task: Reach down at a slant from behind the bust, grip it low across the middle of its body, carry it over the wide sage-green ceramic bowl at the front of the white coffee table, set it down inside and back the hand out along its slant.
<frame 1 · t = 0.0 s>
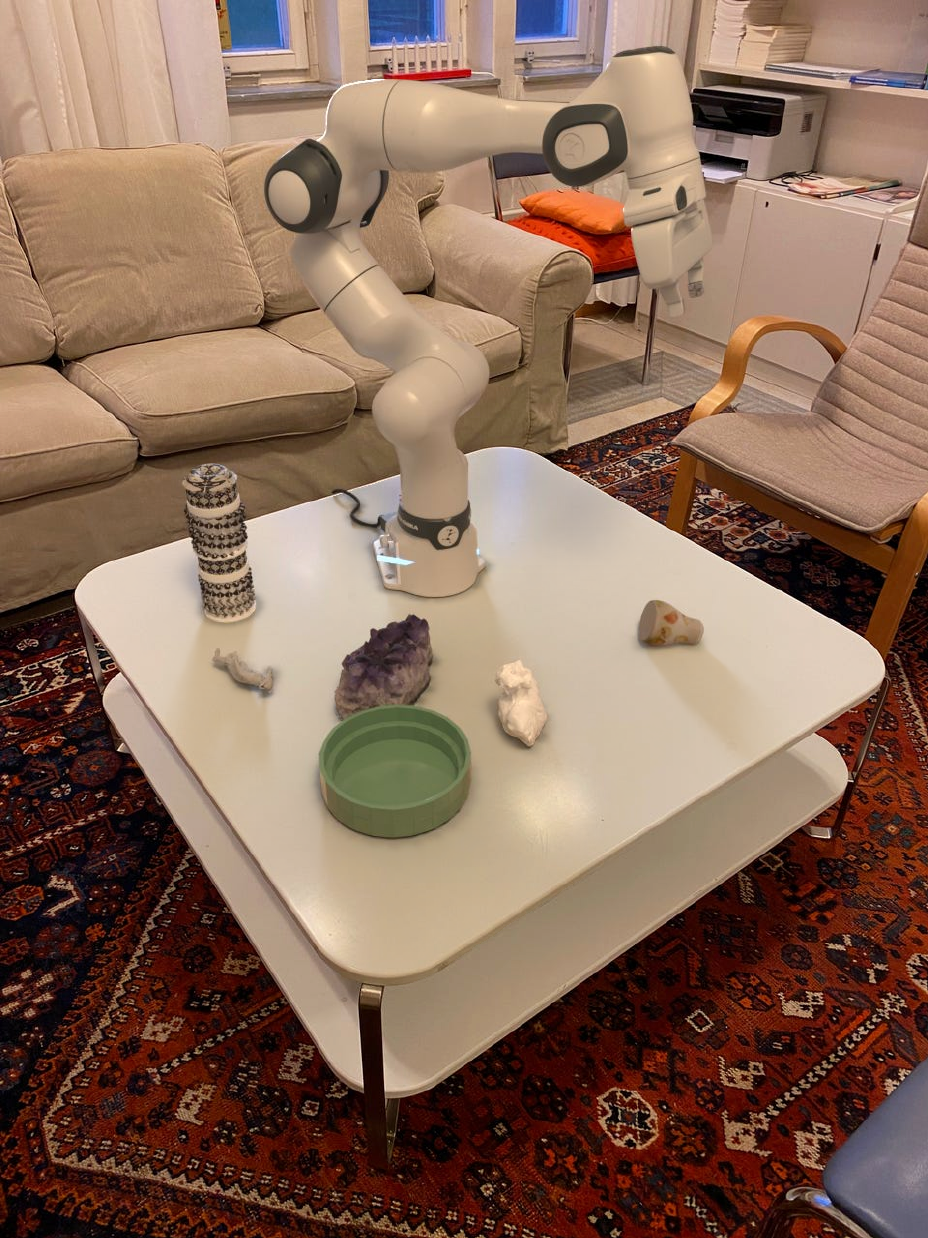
hand: (688, 305, 122), 52 cm above the table, tool tilted 20°, fingers open, 8 cm apart
bust: (519, 726, 134), on the table
geode: (389, 689, 140), on the table
decorative candle: (230, 609, 157), on the table
mug: (669, 640, 151), on the table
bowl: (396, 784, 124), on the table
grey figurine: (246, 682, 141), on the table
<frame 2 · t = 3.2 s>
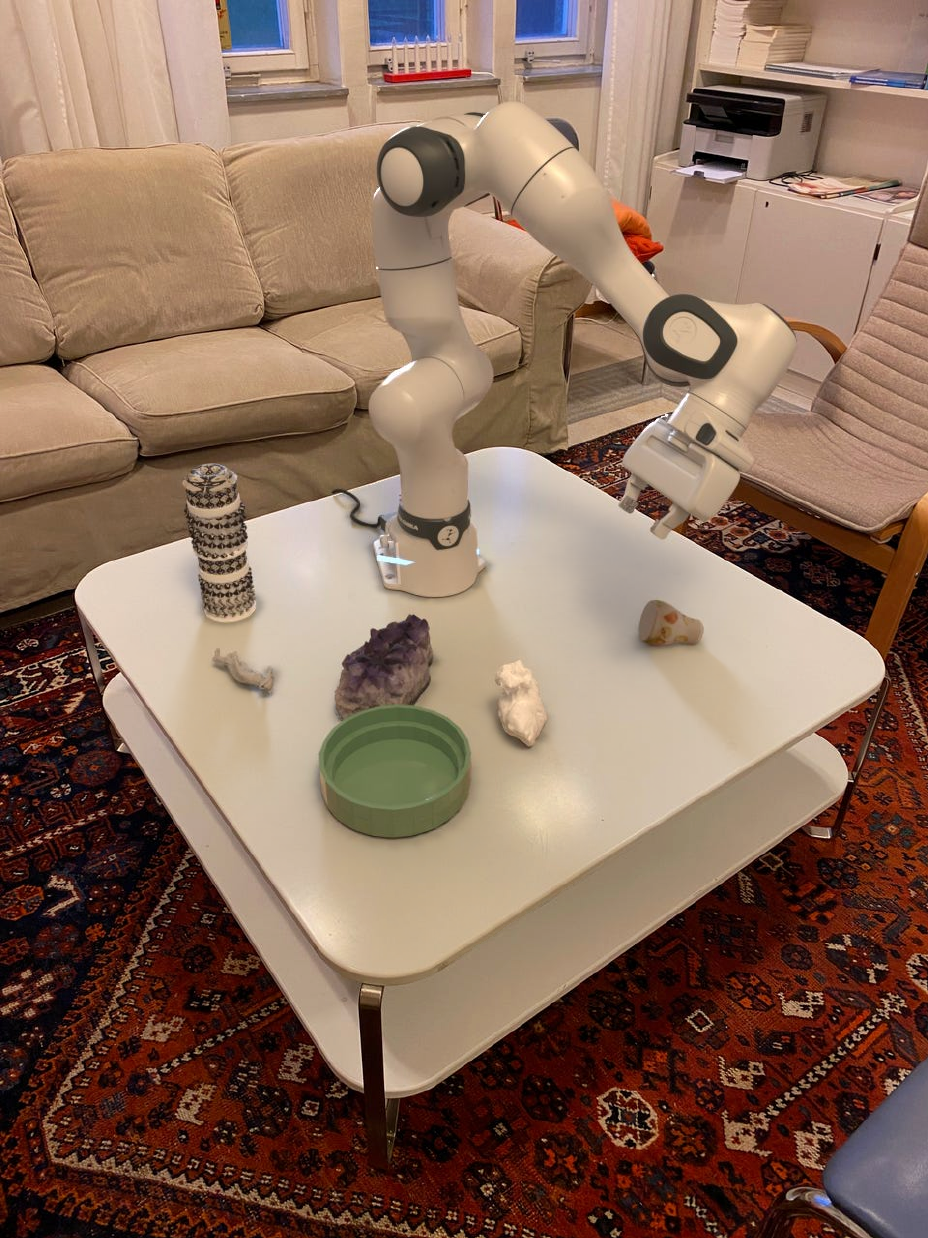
hand: (639, 522, 123), 29 cm above the table, tool tilted 35°, fingers open, 8 cm apart
nothing on the table moved.
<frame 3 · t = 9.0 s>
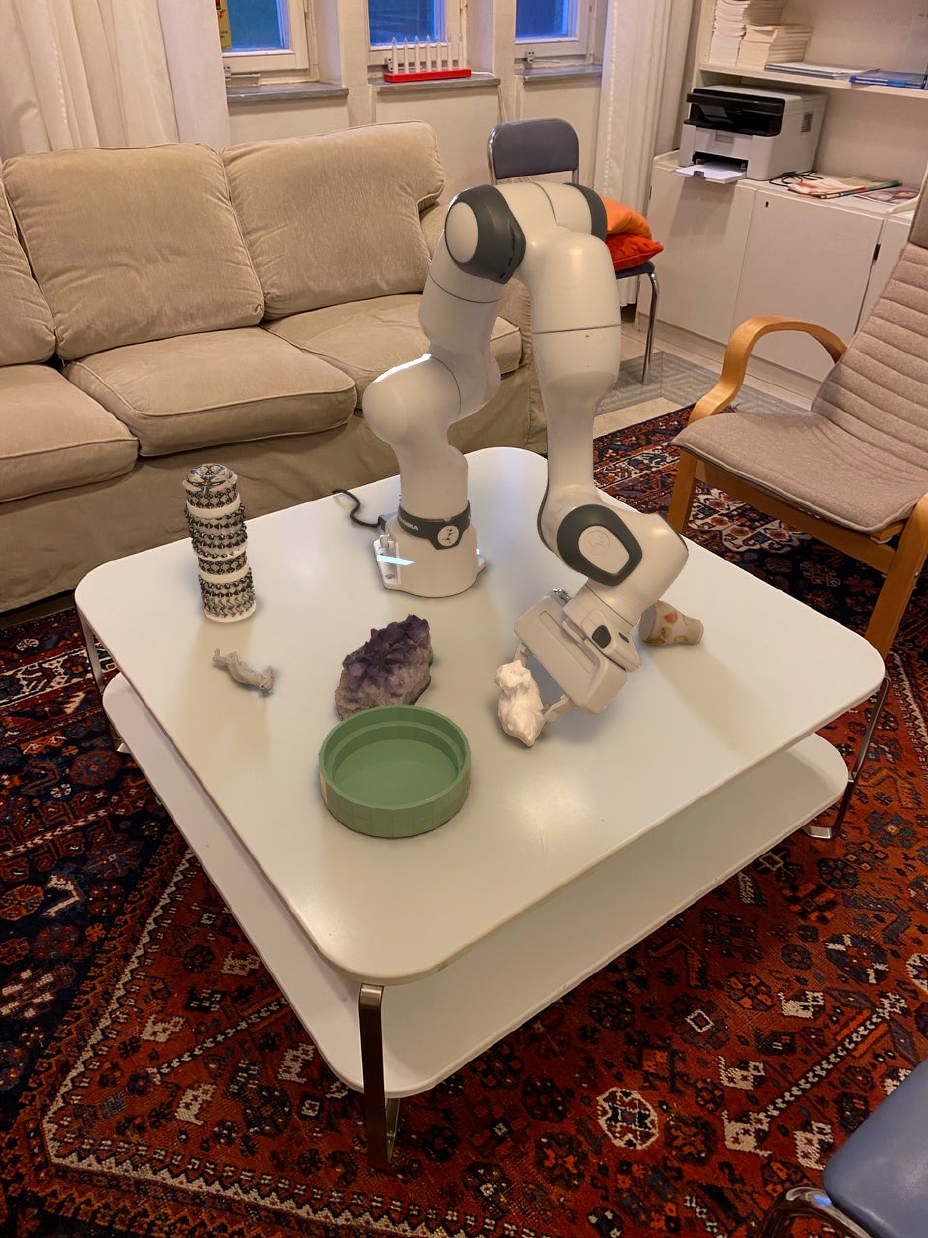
hand: (528, 696, 130), 5 cm above the table, tool tilted 45°, fingers open, 8 cm apart
bust: (519, 726, 134), on the table, touching gripper
everything else where it was.
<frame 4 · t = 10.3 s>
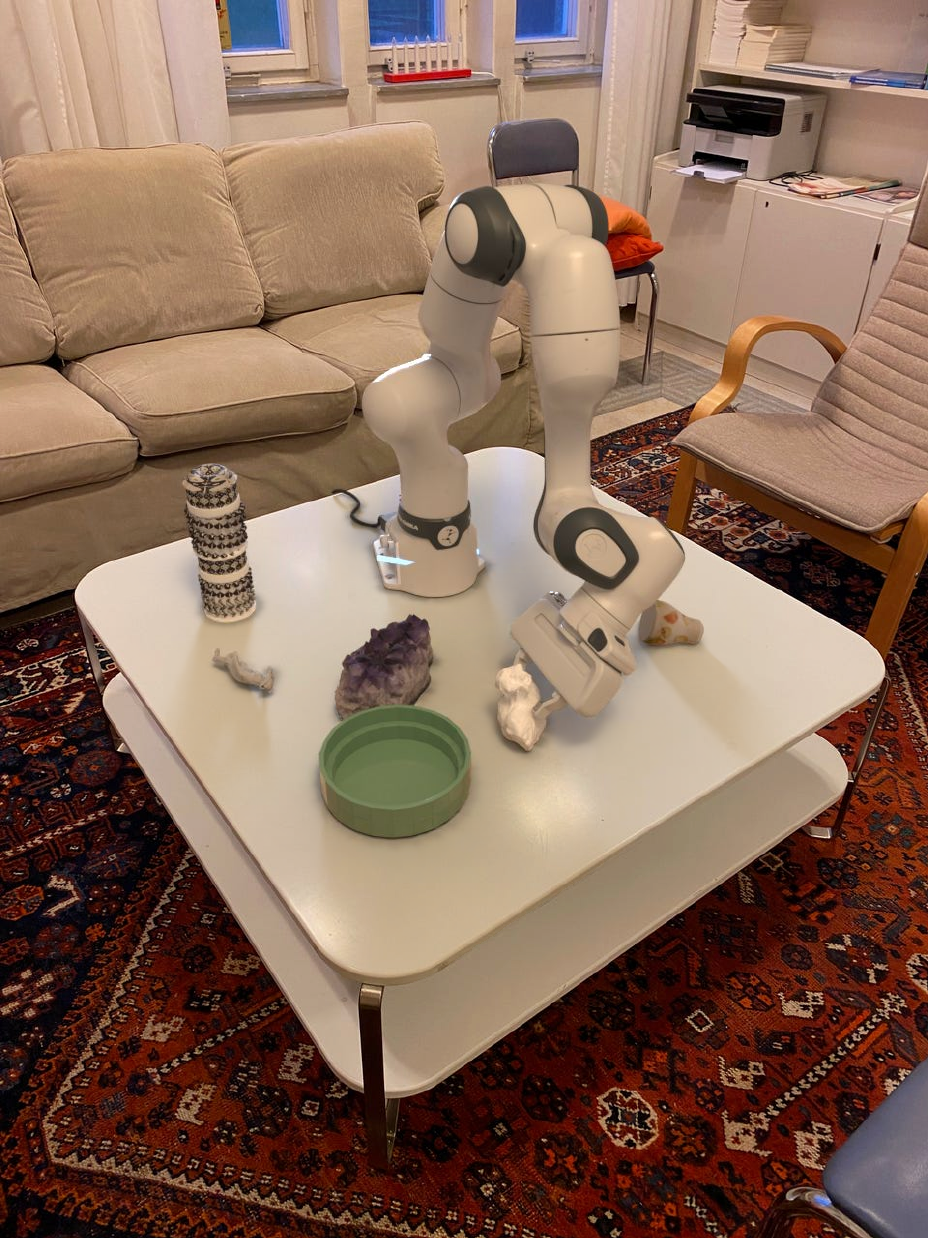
hand: (523, 698, 130), 5 cm above the table, tool tilted 45°, fingers closed on bust, 6 cm apart
bust: (519, 730, 133), on the table, touching gripper
everything else where it was.
when the fingers open (7 cm above the table, at t = 19.5 s): bust stays where it is, resting on bowl.
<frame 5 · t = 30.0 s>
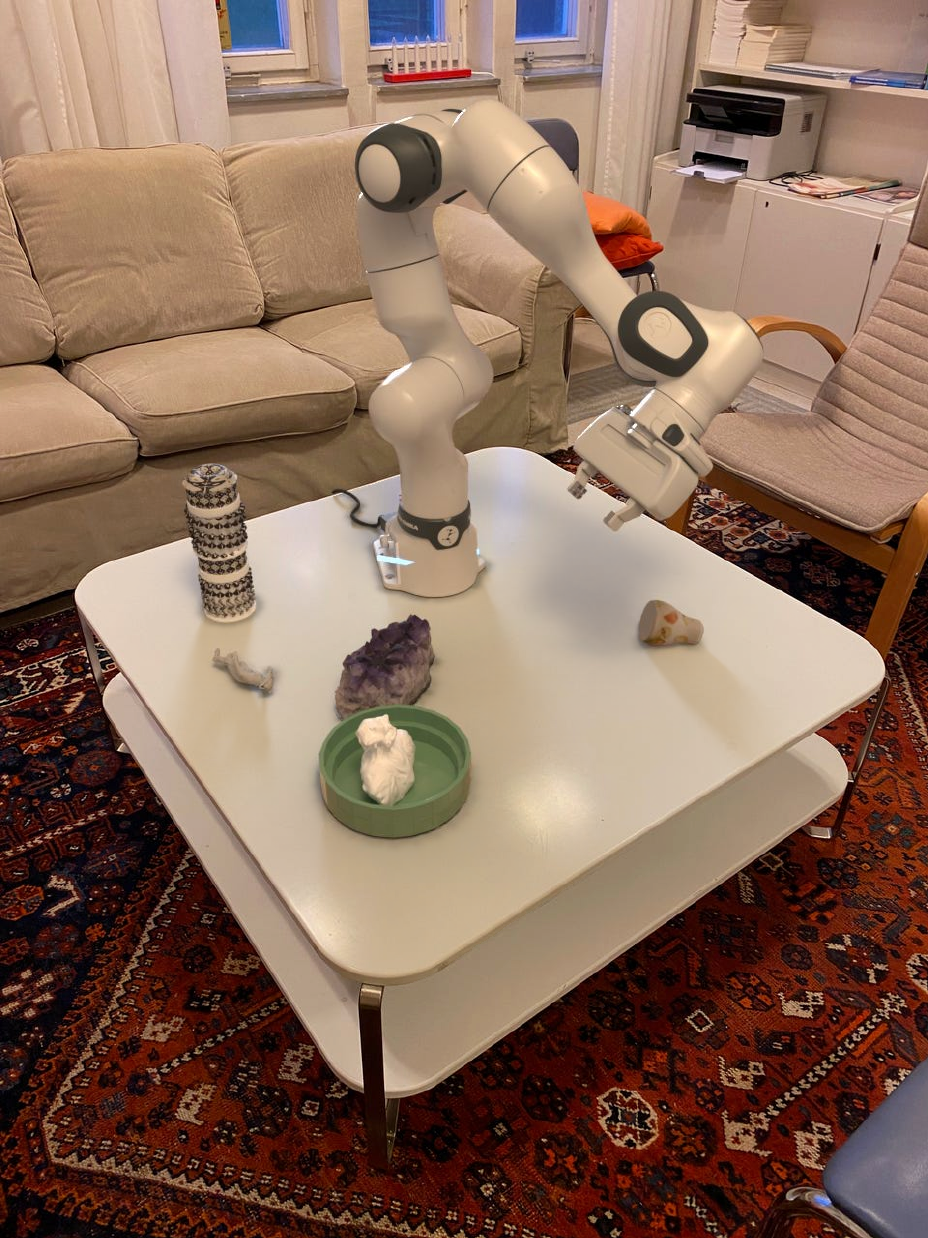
hand: (589, 510, 124), 29 cm above the table, tool tilted 45°, fingers open, 8 cm apart
bust: (387, 785, 123), resting on bowl
everything else where it was.
at the end: bust inside the target area in the bowl (1.3 cm from its centre), point 0.4 cm above the bowl's base; the gripper is holding nothing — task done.
